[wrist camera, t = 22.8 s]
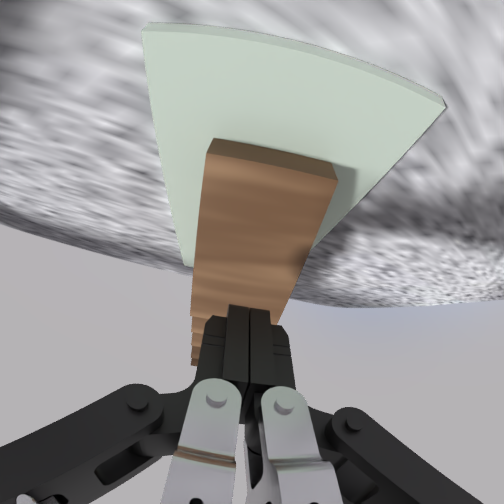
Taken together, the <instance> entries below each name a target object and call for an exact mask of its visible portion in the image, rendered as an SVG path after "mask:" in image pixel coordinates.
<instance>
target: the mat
mask: <svg viewBox="0 0 504 504" xmlns="http://www.w3.org/2000/svg"><path fill="white" fill-rule="evenodd" d="M141 34H142V44H143V52H144V61H145V69H146V76H147V83H148V90H149V97H150V104H151V110H152V116H153V122H154V128H155V134H156V139H157V145H158V150H159V156H160V161H161V166H162V171H163V176H164V181H165V186H166V191H167V195H168V200H169V205H170V209H171V214H172V218H173V222H174V227H175V231H176V235H177V239H178V243H179V248H180V252H181V256H182V260H183V264H184V266H188V267H193V268H194V257H195V246H196V236H197V226H198V216H199V207H200V198H201V190H202V181H203V173H204V166H205V158H206V152H207V150H208V148H209V146H210V144H211V142H212V140H213V138H218V139H224V140H230V141H235V142H241V143H246V144H251V145H256V146H261V147H266V148H271V149H276V150H280V151H285V152H289V153H293V154H298V155H302V156H306V157H310V158H314V159H318V160H322V161H326V162H330V163H332V166H333V168H334V171H335V173H336V176H337V178H338V184H337V186H336V189H335V191H334V194H333V196H332V199H331V201H330V204H329V206H328V209H327V211H326V214H325V216H324V219H323V221H322V223H321V226H320V228H319V231H318V233H317V235H316V238H315V240H314V242H313V245H312V247H311V250H312V249H313V248H314V247H315V246H316V245H317V244H318V243H319V242H320V241H321V240H322V239H323V238H324V237H325V236H326V235H327V234H328V233H329V232H330V231H331V230H332V229H333V228H334V227H335V226H336V225H337V224H338V223H339V222H340V221H341V220H342V219H343V218H344V217H345V216H346V215H347V214H348V212H349V211H350V210H351V209H352V208H353V207H354V206H355V205H356V204H357V203H358V202H359V201H360V200H361V199H362V198H363V197H364V196H365V195H366V194H367V193H368V192H369V191H370V190H371V189H372V188H373V187H374V186H375V184H376V183H377V182H378V181H379V180H380V179H381V178H382V177H383V176H384V175H385V174H386V173H387V172H388V171H389V170H390V169H391V168H392V166H393V165H394V164H395V163H396V162H397V161H398V160H399V159H400V158H401V157H402V156H403V155H404V153H405V152H406V151H407V150H408V149H409V148H410V147H411V146H412V145H413V144H414V143H415V141H416V140H417V139H418V138H419V137H420V136H421V135H422V134H423V133H424V132H425V130H426V129H427V128H428V127H429V126H430V125H431V124H432V123H433V121H434V120H435V119H436V118H437V117H438V116H439V115H440V114H441V112H442V111H443V110H444V109H445V108H446V107H445V104H444V102H443V99H442V97H441V96H440V95H438V94H436V93H434V92H432V91H430V90H428V89H426V88H424V87H422V86H420V85H418V84H416V83H414V82H412V81H410V80H407V79H405V78H403V77H401V76H398V75H396V74H394V73H392V72H389V71H387V70H384V69H382V68H379V67H377V66H374V65H372V64H369V63H366V62H364V61H361V60H358V59H355V58H353V57H350V56H347V55H344V54H341V53H338V52H334V51H331V50H328V49H325V48H321V47H318V46H314V45H310V44H307V43H303V42H299V41H295V40H291V39H286V38H282V37H277V36H273V35H268V34H262V33H257V32H251V31H245V30H239V29H232V28H224V27H216V26H206V25H194V24H178V23H148V24H147V25H146V26H145V28H144V29H143V30H142V31H141ZM311 250H310V251H311Z"/></svg>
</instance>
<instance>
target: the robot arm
mask: <svg viewBox="0 0 504 504" xmlns="http://www.w3.org/2000/svg"><path fill="white" fill-rule="evenodd" d="M239 424H245V440H244V455H245V468H246V480H247V497H246V504H483V503H482V502H481V501H479V500H478V499H476V498H475V497H473V496H472V495H471V494H469V493H468V492H466V491H465V490H464V489H462V488H461V487H460V486H458V485H457V484H455V483H454V482H453V481H451V480H450V479H449V478H447V477H445V476H444V475H443V474H442V473H441V472H439V471H438V470H436V469H435V468H434V467H433V466H431V465H430V464H429V463H427V462H426V461H425V460H423V459H422V458H421V457H420V456H418V455H417V454H416V453H414V452H413V451H412V450H411V449H409V448H408V447H407V446H405V445H404V444H403V443H402V442H400V441H399V440H398V439H397V438H395V437H394V436H393V435H392V434H390V433H389V432H388V431H387V430H385V429H384V428H383V427H382V426H380V425H379V424H378V423H377V422H376V421H375V420H373V419H372V418H371V417H369V416H368V415H367V414H366V413H365V412H363V411H362V410H360V409H357V408H353V407H345V408H341V409H339V410H338V411H337V412H335V414H334V415H332V414H329V413H325V412H322V411H319V410H316V409H313V408H311V407H309V406H308V405H307V402H306V400H305V398H304V397H303V396H302V395H301V394H300V393H299V392H298V391H296V387H295V380H294V373H293V366H292V359H291V352H290V344H289V338H288V335H287V333H286V332H285V330H284V329H283V327H282V326H280V325H273V324H271V319H270V311H269V310H264V309H257V308H251V307H250V308H249V307H245V306H239V305H233V304H229V305H228V310H227V315H226V317H221V316H216V315H212V316H211V317H210V318H209V320H208V321H207V322H206V323H205V327H204V332H203V338H202V343H201V349H200V354H199V360H198V365H197V371H196V376H195V380H194V382H193V383H192V384H191V385H190V386H189V387H188V388H187V389H185V390H183V391H180V392H177V393H168V394H159V393H158V392H157V391H155V390H154V389H153V388H151V387H149V386H147V385H143V384H129V385H126V386H124V387H122V388H120V389H118V390H116V391H114V392H112V393H111V394H109V395H107V396H105V397H103V398H101V399H99V400H97V401H95V402H93V403H92V404H90V405H88V406H86V407H84V408H82V409H80V410H78V411H76V412H74V413H72V414H70V415H68V416H66V417H64V418H62V419H60V420H58V421H56V422H54V423H52V424H50V425H48V426H46V427H43V428H41V429H39V430H37V431H35V432H33V433H31V434H29V435H26V436H24V437H22V438H20V439H18V440H15V441H13V442H11V443H9V444H6V445H4V446H2V447H0V504H89V503H91V502H92V501H94V500H96V499H98V498H99V497H101V496H103V495H104V494H106V493H108V492H109V491H111V490H113V489H115V488H116V487H118V486H119V485H121V484H123V483H124V482H126V481H128V480H129V479H131V478H132V477H134V476H135V475H137V474H138V473H140V472H141V471H143V470H144V469H146V468H147V467H149V466H150V465H152V464H153V463H155V462H156V461H158V460H159V459H160V458H161V457H162V456H167V455H173V457H172V461H171V465H170V468H169V473H168V476H167V480H166V484H165V488H164V492H163V496H162V500H161V504H232V497H233V489H234V481H235V472H236V462H235V449H236V442H237V433H238V425H239Z"/></svg>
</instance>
